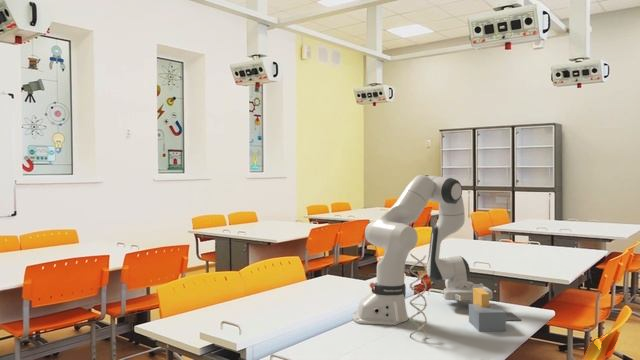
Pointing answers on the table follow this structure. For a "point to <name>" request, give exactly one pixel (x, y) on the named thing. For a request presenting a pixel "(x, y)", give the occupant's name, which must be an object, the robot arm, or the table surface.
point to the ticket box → (487, 317)
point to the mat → (512, 317)
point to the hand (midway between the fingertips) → (473, 298)
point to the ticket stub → (480, 297)
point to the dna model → (419, 295)
